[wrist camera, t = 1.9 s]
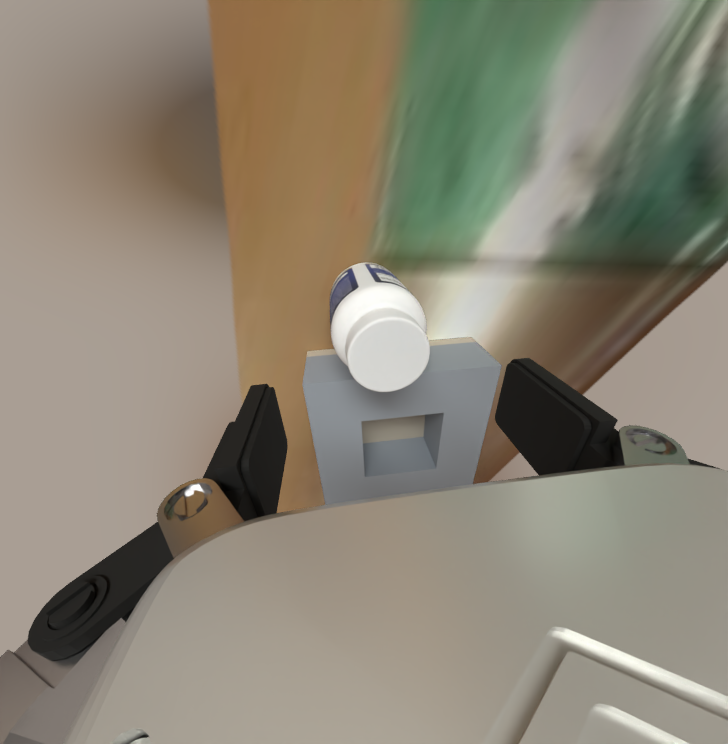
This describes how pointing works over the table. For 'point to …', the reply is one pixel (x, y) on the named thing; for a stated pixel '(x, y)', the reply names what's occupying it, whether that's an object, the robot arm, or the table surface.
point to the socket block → (400, 423)
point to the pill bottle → (378, 328)
